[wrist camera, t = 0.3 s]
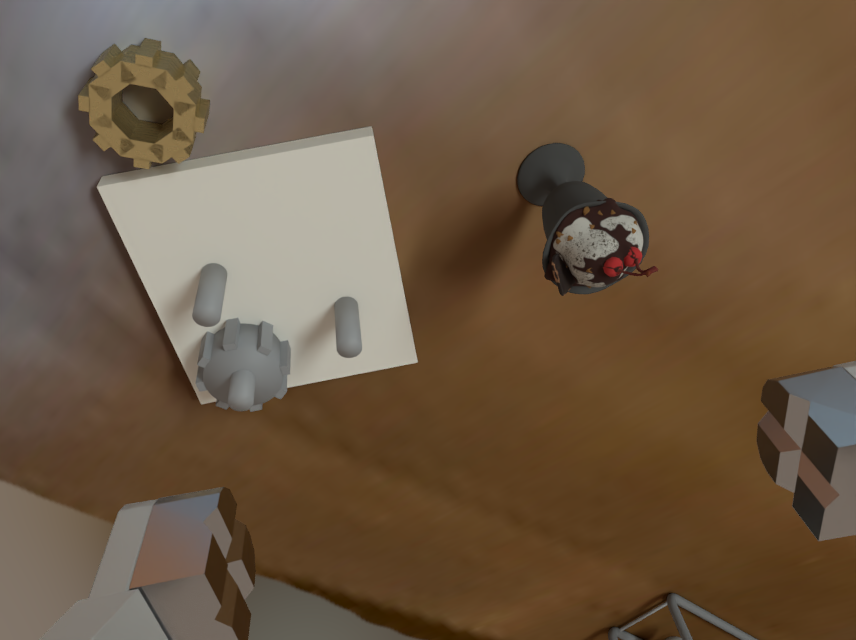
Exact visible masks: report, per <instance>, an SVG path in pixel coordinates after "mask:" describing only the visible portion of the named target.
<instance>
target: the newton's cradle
mask: <svg viewBox="0 0 856 640" xmlns="http://www.w3.org/2000/svg"><path fill="white" fill-rule="evenodd" d="M666 605H668V608H669V610H670V612H671V615H672V617H673V619H674V622H675V624H676V626H677V629H678V631H679V633H680V636H681V638H680V637H676V636H671V637H668V638H666V639H665V640H693V639H692V637H691V635H690V633H689V630H688V628H687V626H686V624H685V621H684V619H683V617H682V615H681V612H680V610H679V608H678V606H677V605H679V606H681V607H682V608H684V609H686V610H688V611H690V612H691V613H693V614H695V615H697V616H699V617H701V618H702V619H704V620H706V621H708V622H710V623H712V624H713V625H715V626H717V627H719V628H721V629H723V630H724V631H726V632H728V633H730V634H732V635H734V636H735V637H737V638H739V639H741V640H757V639H756V638H754V637H752V636H750V635H749V634H747V633H745V632H743V631H741V630H740V629H738V628H736V627H734V626H732V625H731V624H729V623H727V622H725V621H724V620H722V619H720V618H718V617H716V616H715V615H713V614H711V613H709V612H707V611H706V610H704V609H702V608H700V607H699V606H697V605H695V604H693V603H691V602H690V601H688V600H686V599H684V598H683V597H681V596H679V595H677V594H675V593H671V594H669V595H668V596H667V601H666V602H665V603H663V604H661V605H659V606H658V607H656V608H654V609H653V610H651V611H649V612H647V613H646V614H644V615H642V616H640V617H639V618H637V619H635V620H634V621H632V622H630V623H628V624H627V625H625V626H623V627H622V628H617V627H612V628H611V629H610V630H609V632H608V638H609V640H618V638H620V639H622V640H643V639H641V638H639V637H636V636H634V635H632V634H630V633H628V632H626V631H624V630H625V629H627V628H628V627H630V626H632V625H633V624H635V623H637V622H639V621H640V620H642V619H644V618H646V617H647V616H649V615H651V614H652V613H654V612H656V611H658V610H659V609H661V608H663V607H665V606H666ZM617 637H618V638H617Z"/></svg>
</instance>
